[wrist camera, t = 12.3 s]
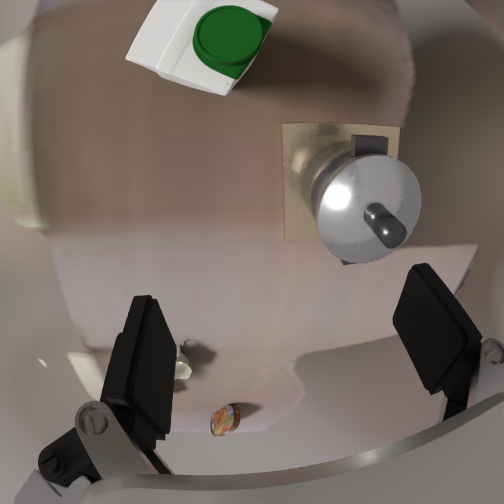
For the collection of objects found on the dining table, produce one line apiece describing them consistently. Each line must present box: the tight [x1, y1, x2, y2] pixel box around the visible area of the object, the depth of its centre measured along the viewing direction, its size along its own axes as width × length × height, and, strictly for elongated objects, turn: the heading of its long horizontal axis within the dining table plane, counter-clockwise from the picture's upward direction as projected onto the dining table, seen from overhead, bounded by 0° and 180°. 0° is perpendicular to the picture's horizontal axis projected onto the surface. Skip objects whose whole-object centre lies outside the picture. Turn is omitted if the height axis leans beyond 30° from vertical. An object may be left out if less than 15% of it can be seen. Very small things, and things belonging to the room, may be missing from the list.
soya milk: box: [125, 0, 279, 95], centre depth 20 cm, size 9×9×20 cm
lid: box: [315, 153, 421, 263], centre depth 28 cm, size 14×14×6 cm
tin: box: [210, 405, 240, 436], centre depth 74 cm, size 15×3×8 cm, turn 146°
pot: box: [281, 122, 400, 265], centre depth 35 cm, size 18×18×10 cm
